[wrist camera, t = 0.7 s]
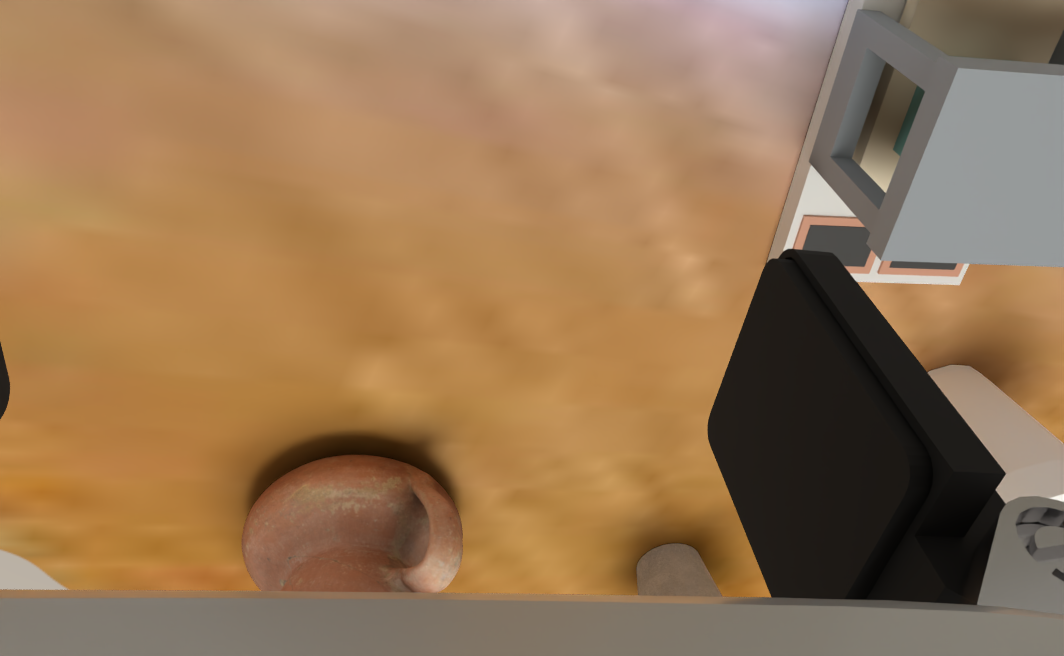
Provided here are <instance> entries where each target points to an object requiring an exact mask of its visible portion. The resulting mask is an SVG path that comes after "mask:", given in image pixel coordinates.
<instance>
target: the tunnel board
mask: <svg viewBox="0 0 1064 656" xmlns="http://www.w3.org/2000/svg"><path fill="white" fill-rule="evenodd" d="M906 3H907V0H849V1H848V4H847V7H846V11H845V14H844V17H843V20H842V23H841V27H840V30H839V33H838V36H837V39H836V43H835V46H834V49H833V52H832V55H831V59H830V62H829V65H828V68H827V71H826V75H825V78H824V81H823V84H822V87H821V91H820V94H819V97H818V100H817V103H816V106H815V110H814V113H813V116H812V119H811V122H810V126H809V129H808V132H807V135H806V138H805V142H804V145H803V148H802V151H801V154H800V158H799V161H798V164H797V167H796V170H795V174H794V177H793V180H792V183H791V186H790V190H789V193H788V196H787V199H786V202H785V205H784V209H783V212H782V215H781V218H780V221H779V225H778V228H777V231H776V234H775V237H774V241H773V244H772V247H771V250H770V253H769V257H768V260H767V262H768V261H769V260H770V259H772V258H776V259H778V258H779V256H780V255H781V254H782V252H783V251H785V250H787V249H800V250H811V251H822V252H831V253H833V254H834V255H835V256H837V258H838V259H839V260H840V261H841V263H842V264H843V265H844V267H845V268H846V269H847V270H848V272H849V273H850V274H851V276H852V277H853V278H854V279H855V281H856V282H881V283H914V284H946V285H960V283H961V281H962V278H963V276H964V274H965V272H966V270H967V268H968V266H969V264H991V265H1019V266H1048V267H1064V30H1063V32H1062V35H1061V37H1060V39H1059V41H1058V43H1057V45H1056V47H1055V50H1054V52H1053V54H1052V56H1051V58H1050V60H1049V63H1048V64H1046V63H1033V62H1020V61H1007V60H993V59H980V58H967V57H954V56H948V55H947V54H945V53H944V52H942V51H941V50H939V49H938V48H936V47H935V46H933V45H932V44H930V43H929V42H927V41H925V40H924V39H922V38H921V37H919V36H918V35H916V34H915V33H913V32H912V31H910V30H909V29H907V28H906V27H904V26H903V25H901V24H899V22H900V20H901V17H902V14H903V11H904V8H905V5H906ZM886 62H887V63H888V64H890V65H891V66H892V67H894V68H895V69H896V70H898V71H899V72H900V73H902V74H903V75H904V76H906V77H907V78H908V79H910V80H911V81H912V82H914V83H915V84H916V85H918V86H919V87H920V88H922V89H923V90H924V91H925V93H924V96H923V98H922V101H921V104H920V106H919V109H918V111H917V114H916V116H915V119H914V122H913V124H912V127H911V129H910V132H909V135H908V137H907V140H906V142H905V145H904V147H903V150H902V153H901V155H900V158H899V160H898V163H897V166H896V168H895V171H894V173H893V176H892V178H891V181H890V184H889V186H888V189H887V191H886V193H885V192H884V191H883V190H882V189H881V188H880V187H879V186H878V184H877V183H876V182H875V181H874V180H873V179H872V178H871V177H870V176H869V175H868V174H867V173H866V172H865V171H864V170H863V169H862V168H861V167H860V166H859V165H858V164H857V163H856V162H855V161H854V160H853V159H852V157H853V154H854V151H855V148H856V145H857V142H858V140H859V137H860V134H861V131H862V128H863V125H864V123H865V120H866V117H867V114H868V111H869V108H870V106H871V103H872V100H873V97H874V94H875V91H876V88H877V86H878V83H879V80H880V77H881V74H882V71H883V69H884V66H885V63H886Z"/></svg>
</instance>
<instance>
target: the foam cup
mask: <svg viewBox="0 0 1064 656" xmlns="http://www.w3.org/2000/svg"><path fill="white" fill-rule="evenodd" d="M928 374H929V375H930V377H931V378H932V379H933V380H934V382H935V383H936V384H937V386H938V387H939V388H940V389H941V391H942V392H943V393H944V395H945V396H946V397H947V398H948V400H949V401H950V402H951V404H952V405H953V406H954V407H955V409H956V410H957V411H958V413H959V414H960V415H961V416H962V418H963V419H964V420H965V421H966V423H967V424H968V425H969V427H970V428H971V429H972V430H973V432H974V433H975V434H976V436H977V437H978V438H979V439H980V441H981V442H982V443H983V445H984V446H985V447H986V448H987V450H988V451H989V452H990V453H991V455H992V456H993V457H994V459H995V460H996V461H997V462H998V464H999V465H1000V466H1001V468H1002V469H1003V470H1004V471H1005V473H1006V475H1005V476H1004V478H1003V479H1002V481H1001V482H1000V484H999V485H998V487H997V488H996V491H997V493H998V494H999V495H1000V497H1001V498H1002V499H1003V501H1004V502H1005V503H1007V502H1009V501H1011V500H1014V499H1016V498H1018V497H1027V496H1039V497H1044V498H1049V499H1054V500H1059V501H1062V502H1064V443H1062V442H1061V441H1060V440H1059V439H1058V438H1057V437H1055V436H1054V435H1053V434H1052V433H1051V432H1050V431H1048V430H1047V429H1046V428H1045V427H1044V426H1042V425H1041V424H1040V423H1039V422H1038V421H1037V420H1035V419H1034V418H1033V417H1032V416H1031V415H1030V414H1028V413H1027V412H1026V411H1025V410H1024V409H1023V408H1021V407H1020V406H1019V405H1018V404H1017V403H1016V402H1014V401H1013V400H1012V399H1011V398H1010V397H1009V396H1007V395H1006V394H1005V393H1004V392H1003V391H1002V390H1000V389H999V388H998V387H997V386H996V385H994V384H993V383H992V382H991V381H990V380H989V379H987V378H986V377H984V376H983V375H982V374H981V373H980V372H978V371H977V370H975V369H973V368H972V367H970V366H964V365H948V366H945V367H941V368H938V369H934V370H931V371H929V372H928Z"/></svg>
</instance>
